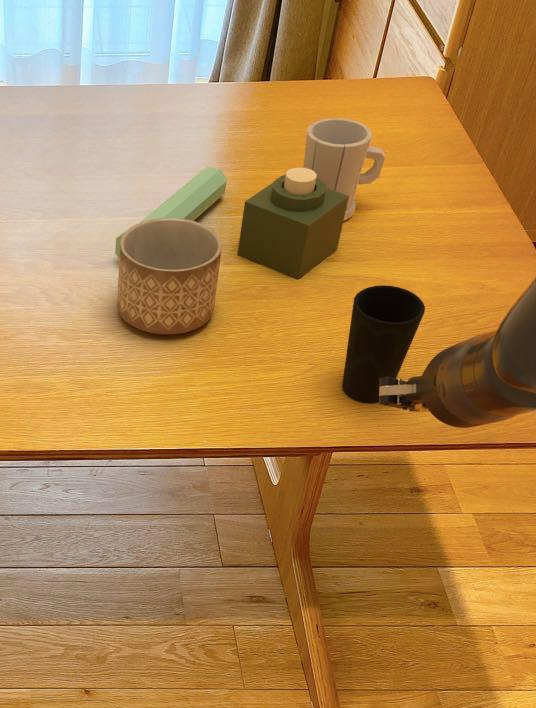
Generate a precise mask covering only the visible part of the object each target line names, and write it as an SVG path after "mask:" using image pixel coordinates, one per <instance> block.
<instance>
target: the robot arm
mask: <svg viewBox="0 0 536 708" xmlns="http://www.w3.org/2000/svg"><path fill="white" fill-rule="evenodd" d="M379 396H380V397H379V402H378V404H379V405H382V406H383V407H386V406H387V407H391V408H394V409H395V408H396V409H401V410H402V411H409V412H416V413H418V412H420V413H430V414H431V415H432V416H433V417H434V418H435V419H436V420H438V421H439V422H441V423H443V424H444V425H447V426H450V427H453V428H460V429H467V428H474V427H479V426H485V425H489V424H495V423H498V422H504V421H507V420H510V419H512V418H515V417H517V416H520V415H522V414H528V413H532V412H535V411H536V276H534V278H533V279H532V281H531V282H530V283H529V284H528V286H527V287H526V288H525V289H524V290H523V292H522V293H521V294H520V296H519V297H518V298H517V299H516V300H515V302H514V303H513V305H512V306H511V307H510V308H509V310H508V311H507V313H506V314H505V316H504V317H503V319H502V320H501V322H500V324H499V326H498V328H497V330H494V331H489V332H484V333H481V334H480V333H479V334H477V335H474V336H472V337H470V338H468V339H465V340H463V341H460V342H458V343H456V344H453V345H451V346H449V347H446V348H444V349H442V350H441V351H439V353H437V354H436V355H435V356H434V357H433V358H432V359H431V360H430V361H429V363H428V364H427V366H426V367H425V369H424V371H423V372H422V374H421V375H417V376H412V377H410V378H408V380H407V381H406V380H403V379H402V378H396V379H395V378H390V377H384V378H380V388H379Z"/></svg>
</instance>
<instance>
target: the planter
mask: <svg viewBox="0 0 536 708" xmlns="http://www.w3.org/2000/svg"><path fill="white" fill-rule="evenodd" d="M140 222H141V221H140ZM140 222H138V223H136V224H134V225H133V226H131V227H129V228H128V229H127V230H125V231H126V232H125V231H124V232H125V233H124V232H123V233H124V234H123V233H122V234H123V236H122V238H121V240H120V257H119V258H118V259H119V260H118V281H117V304H116V307H117V311H118V313H119V315H120V316H121V318H122V319H123V320H124V321H125V322H126V323H127V324H129V325H130V326H132V327H133V328H135V329H137V330H140V331H143V332H148V333H151V334H156V335H157V334H158V335H179V334H184V333H188V332H191V331H194V330H197V329H199V328H201V327H202V326H204V325H205V324H206V323H207V322H209V320H210V319H211V317H212V315H213V314H214V310H215V305H216V304H215V303H216V295H217V290H218V289H217V288H218V282H219V272H220V264H221V256H222V249H223V242H222V239H221V238H220V236H219V235H218V233H217V232H216V231H214V230H213V229H212V228H211V227H209V226H207V225H205V224H203V223H200V222H197V221H196V220H194V221H191V220H187V219H180V218H158V219H152V220H147V221H144V222H141V223H140Z"/></svg>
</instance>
